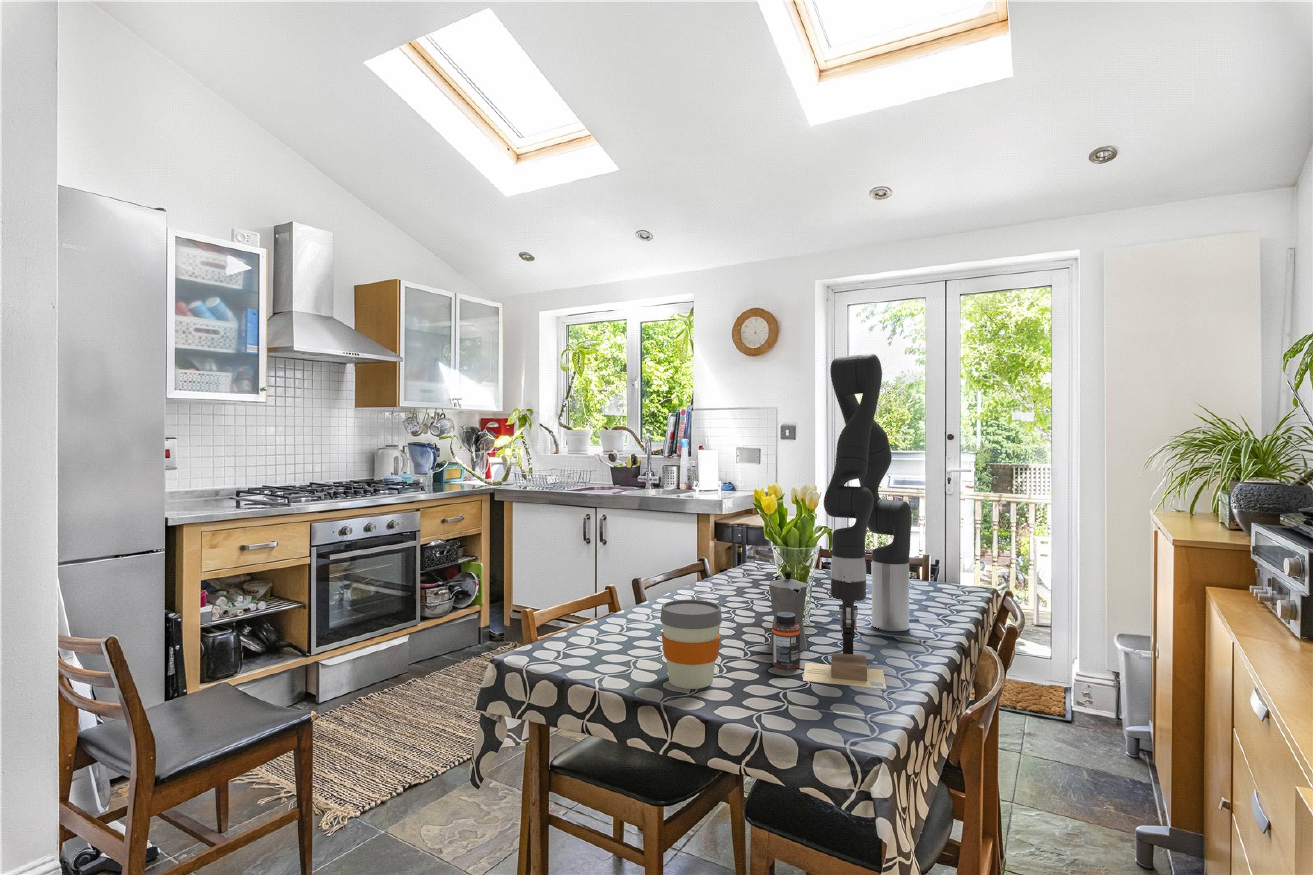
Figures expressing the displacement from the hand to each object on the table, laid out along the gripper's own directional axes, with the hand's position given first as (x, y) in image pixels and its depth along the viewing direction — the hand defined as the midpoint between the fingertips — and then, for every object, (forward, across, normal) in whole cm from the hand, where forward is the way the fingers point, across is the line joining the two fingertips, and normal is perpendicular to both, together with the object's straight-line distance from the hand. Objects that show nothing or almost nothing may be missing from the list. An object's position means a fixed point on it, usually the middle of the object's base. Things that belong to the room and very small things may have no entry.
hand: (848, 654), depth 145 cm
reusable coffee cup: (+2, +21, -31) cm, 37 cm away
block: (+1, +9, 0) cm, 9 cm away
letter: (+2, +10, -1) cm, 10 cm away
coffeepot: (+2, -7, -14) cm, 16 cm away
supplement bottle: (+2, +7, -13) cm, 15 cm away
